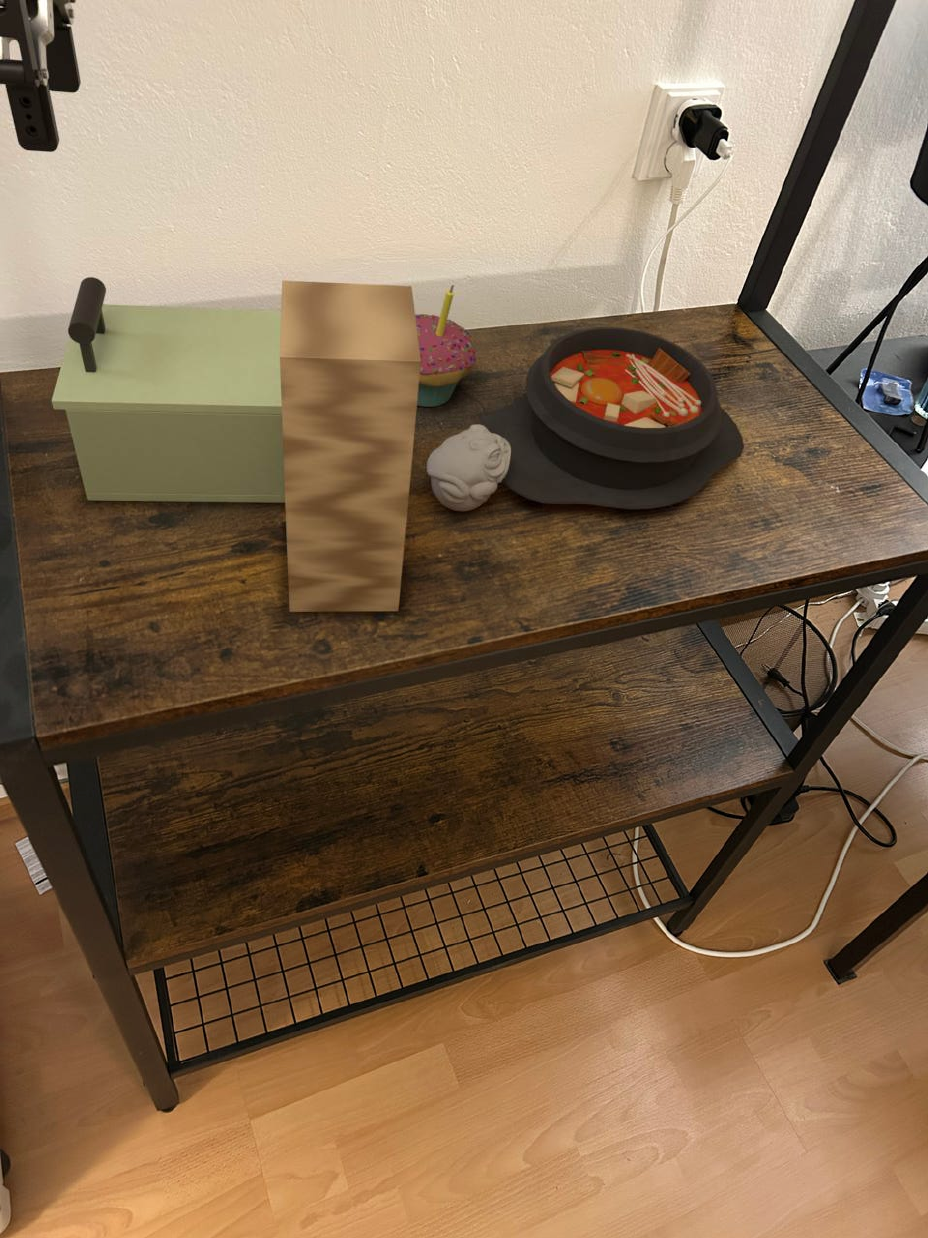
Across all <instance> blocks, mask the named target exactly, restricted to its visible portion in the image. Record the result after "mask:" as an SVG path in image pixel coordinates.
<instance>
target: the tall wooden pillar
mask: <svg viewBox="0 0 928 1238" xmlns="http://www.w3.org/2000/svg"><path fill="white" fill-rule="evenodd" d="M414 302H415V301H414V295H413V288H412V286H411V285H391V284H371V283H370V284H369V283H348V282H347V283H346V282H326V281H325V282H324V281H304V280H303V281H302V280H282V281H281V305H280V307H281V308H280V311H281V332H280V377H281V403H282V428H283V454H284V480H285V503H284V504H285V527H286V550H287V551H286V552H287V553H286V555H287V579H288V581H287V582H288V602H289V603H288V606H289V607H288V608H289V612H290V613H308V612H309V613H324V612H325V613H326V612H327V613H328V612H329V613H334V612H335V613H336V612H337V613H338V612H339V613H340V612H341V613H342V612H345V613H346V612H347V613H350V612H354V613H355V612H399V608H400V599H401V598H400V597H401V589H402V588H401V587H402V576H403V566H404V555H405V543H406V532H407V523H408V512H409V511H408V508H409V500H410V499H409V497H410V487H411V478H412V477H411V475H412V466H413V453H414V443H415V432H416V422H417V421H416V419H417V411H418V410H417V409H418V405H417V400H418V389H419V377H420V366H421V358H420V350H419V342H418V334H417V326H416V318H415V315H416V311H415V303H414Z"/></svg>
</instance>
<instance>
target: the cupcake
mask: <svg viewBox="0 0 928 1238" xmlns="http://www.w3.org/2000/svg"><path fill="white" fill-rule="evenodd" d="M454 288H455V284H451V286H450V289H447V290H446V291H445V295H444V298H443V302H442V307H441V310H440V314H439V315H440V316H439V315H435V314H427V313H425V314H423V313H422V314H421V313H420V314H415V318H416V326H417V334H418V342H419V350H420V358H421V366H420V377H419V389H418V400H417V407H424V408H432V407H433V408H434V407H439V406H442V405H445V404H446V403H447V402H448V401H449V400H450V399H451V397H452V395H453V393H454V391H455V389H456V387H457V386H458V384H459V382H460V381H461V380H462V379H464V378H465V377H467V376H469V375H470V373H471V371H472V368H473V366H474V365H475V363H476V361H477V353H476V349H475V345H474V340H473V338H472V335H471V334H470V333H469V332H467V330H466V329H465V327H463V326H462V325H459V324H458V323H456V322H455V321H453V320H451V319H448V317H449V312H450V310H451V306H452V303H453V302H452V301H453V298H454V294H455V293H454V291H453V290H454Z"/></svg>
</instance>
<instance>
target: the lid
mask: <svg viewBox="0 0 928 1238" xmlns="http://www.w3.org/2000/svg"><path fill="white" fill-rule="evenodd" d="M106 293H107V288H106V285H105V283H104V282H103V281H102V280H100V279H99V278H97V277H93V276H90V277H89V276H88V277H85V278H84V279H82V281H81V282H80V285H79V289H78V292H77V296H76V300H75V303H74V306H73V310H72V314H71V317H70V320H69V324H68V328H67V333H68V340H67V343H66V347H65V351H64V353H63V354H64V355H63V358H62V362H61V365H60V369H59V372H58V376H57V380H56V384H55V388H54V391H53V393H52V398H51V405H52V408H53V410H57V411H58V410H59V411H61V410H62V411H63V410H64V411H66V410H101V411H147V412H192V413H238V414H282V403H281V377H280V332H281V310H268V309H267V310H266V309H265V310H264V309H239V308H237V309H236V308H214V307H213V308H212V307H209V308H208V307H182V306H181V307H180V306H160V305H158V306H157V305H155V306H154V305H134V304H133V305H131V304H108V303H107V304H104V302H105V298H106Z"/></svg>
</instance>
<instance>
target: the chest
mask: <svg viewBox="0 0 928 1238" xmlns="http://www.w3.org/2000/svg"><path fill="white" fill-rule="evenodd" d="M65 414H66V418H67V422H68V426H69V430H70V434H71V439H72V442H73V447H74V450H75V455H76V459H77V463H78V466H79V471H80V474H81V475H80V476H81V480H82V483H83V487H84V492H85V495H86V499H87V501H89V502H90V501H91V502H92V501H95V502H96V501H97V502H98V501H99V502H100V501H101V502H177V503H178V502H184V503H190V502H191V503H193V502H194V503H266V504H267V503H269V504H270V503H272V504H274V503H279V504H282V503H283V504H285V480H284V454H283V428H282V414H238V413H192V412H147V411H101V410H65Z"/></svg>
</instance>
